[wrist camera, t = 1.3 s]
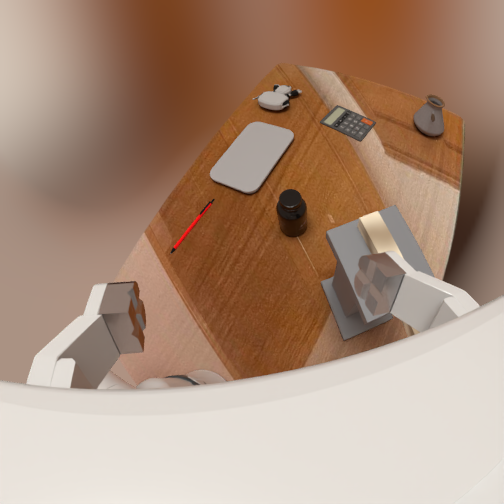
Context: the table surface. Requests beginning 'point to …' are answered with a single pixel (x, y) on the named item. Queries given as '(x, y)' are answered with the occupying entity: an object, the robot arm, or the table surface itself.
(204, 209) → the pen
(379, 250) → the maple bar
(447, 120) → the table surface
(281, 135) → the tablet
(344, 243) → the charcoal stand
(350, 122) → the calculator
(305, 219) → the supplement bottle
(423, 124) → the coffee pot
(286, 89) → the robot toy
